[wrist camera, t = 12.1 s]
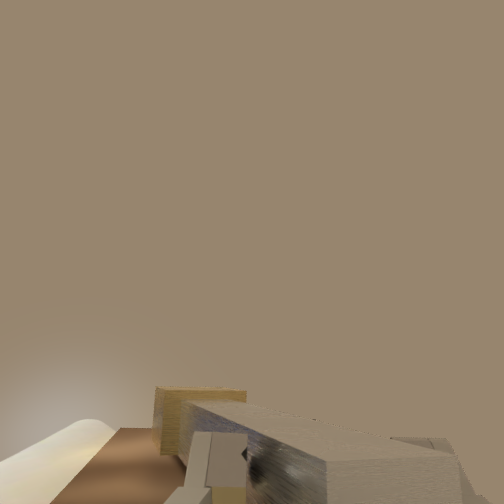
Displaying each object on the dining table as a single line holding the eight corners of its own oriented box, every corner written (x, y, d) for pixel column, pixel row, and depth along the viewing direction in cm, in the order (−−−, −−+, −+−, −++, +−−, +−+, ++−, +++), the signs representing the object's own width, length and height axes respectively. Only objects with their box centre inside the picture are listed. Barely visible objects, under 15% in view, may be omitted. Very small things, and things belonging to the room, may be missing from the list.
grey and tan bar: (518, 625, 8) (491, 428, 9) (274, 675, 6) (275, 432, 7) (221, 437, 30) (223, 387, 31) (151, 439, 28) (155, 386, 29)
